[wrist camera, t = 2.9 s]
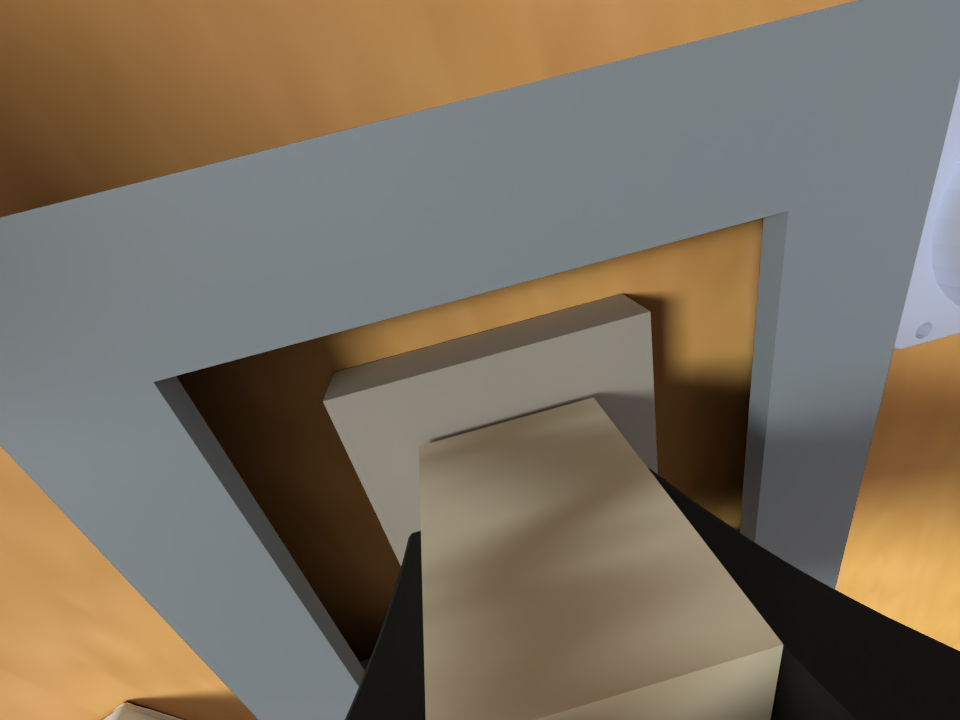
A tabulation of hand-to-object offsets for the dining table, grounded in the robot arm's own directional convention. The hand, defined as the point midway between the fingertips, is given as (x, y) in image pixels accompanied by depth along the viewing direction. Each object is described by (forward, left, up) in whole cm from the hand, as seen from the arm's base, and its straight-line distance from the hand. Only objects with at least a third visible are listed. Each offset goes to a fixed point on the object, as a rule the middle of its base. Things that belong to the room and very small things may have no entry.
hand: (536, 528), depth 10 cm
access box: (0, 0, -3) cm, 3 cm away
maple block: (0, 0, -1) cm, 1 cm away
